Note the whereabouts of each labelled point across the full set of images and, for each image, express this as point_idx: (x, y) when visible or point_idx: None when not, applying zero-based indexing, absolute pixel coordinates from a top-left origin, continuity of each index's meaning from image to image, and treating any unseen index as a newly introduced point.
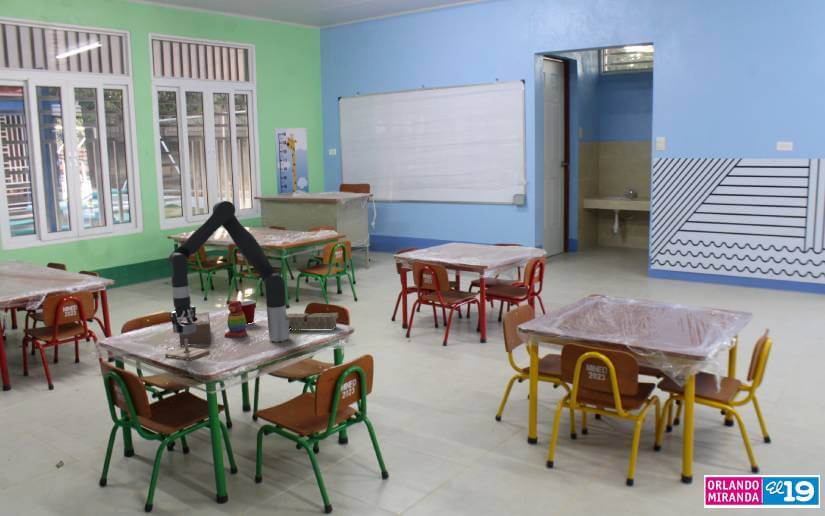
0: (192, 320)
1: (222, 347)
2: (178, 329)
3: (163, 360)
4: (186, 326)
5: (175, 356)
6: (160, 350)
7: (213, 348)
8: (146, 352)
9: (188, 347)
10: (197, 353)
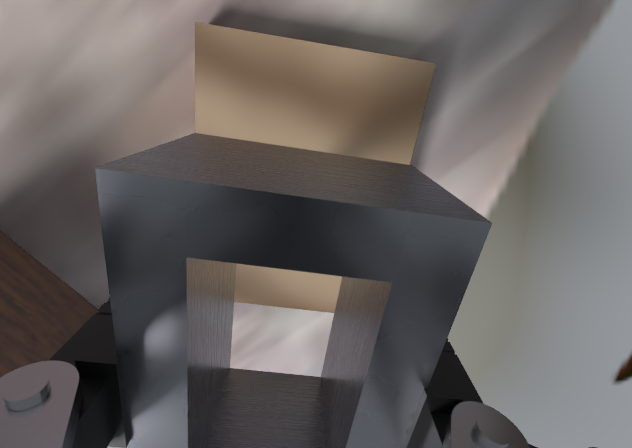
0: (3, 378)
1: (14, 17)
2: (451, 353)
3: None
4: (485, 222)
5: None
6: None
7: (80, 89)
8: None
9: None
10: (317, 70)
